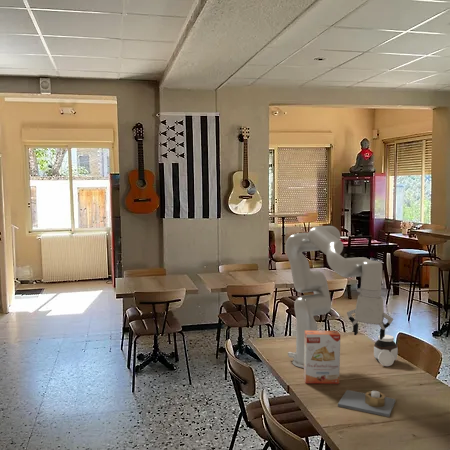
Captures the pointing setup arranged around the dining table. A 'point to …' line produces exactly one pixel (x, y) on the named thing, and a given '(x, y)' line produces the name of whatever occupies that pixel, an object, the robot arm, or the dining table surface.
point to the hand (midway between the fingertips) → (368, 336)
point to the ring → (375, 400)
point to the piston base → (358, 403)
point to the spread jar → (385, 350)
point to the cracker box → (322, 357)
